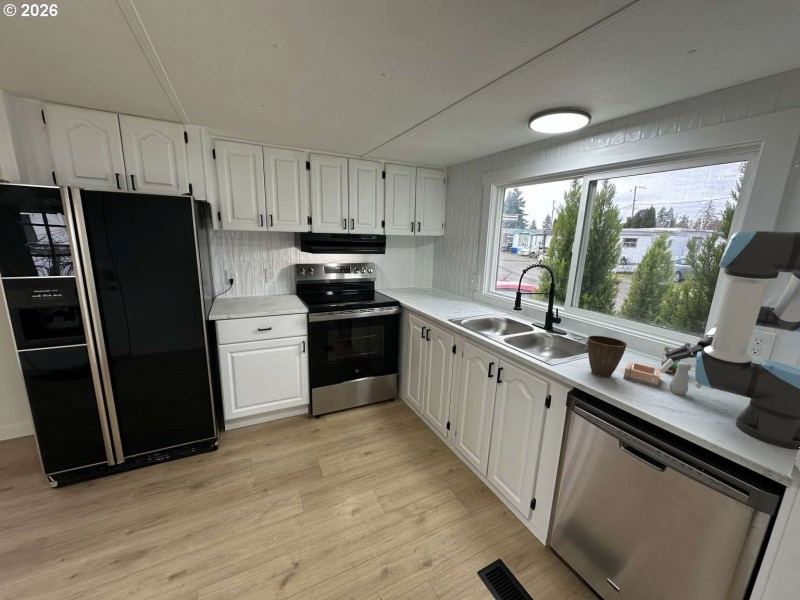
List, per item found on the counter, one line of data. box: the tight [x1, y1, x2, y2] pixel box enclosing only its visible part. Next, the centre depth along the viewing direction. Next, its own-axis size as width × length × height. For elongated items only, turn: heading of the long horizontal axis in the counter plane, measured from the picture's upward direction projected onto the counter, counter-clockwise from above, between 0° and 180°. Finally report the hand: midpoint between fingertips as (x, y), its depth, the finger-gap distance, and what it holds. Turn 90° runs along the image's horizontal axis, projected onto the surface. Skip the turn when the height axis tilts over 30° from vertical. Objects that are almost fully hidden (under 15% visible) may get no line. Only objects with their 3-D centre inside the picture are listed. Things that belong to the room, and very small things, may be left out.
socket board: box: [623, 361, 662, 388], centre depth 143 cm, size 12×12×5 cm
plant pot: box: [587, 335, 628, 378], centre depth 144 cm, size 15×15×16 cm
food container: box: [660, 346, 681, 374], centre depth 152 cm, size 12×6×10 cm, turn 148°
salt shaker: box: [669, 361, 692, 396], centre depth 129 cm, size 6×6×13 cm
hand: (678, 378), depth 129 cm, fingers open, 13 cm apart
